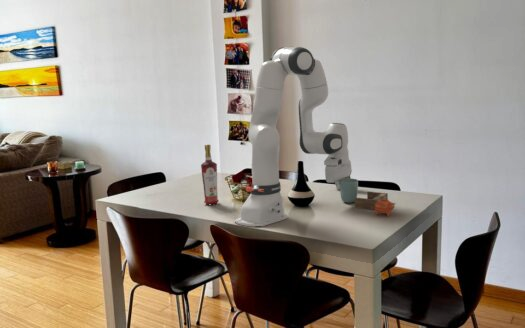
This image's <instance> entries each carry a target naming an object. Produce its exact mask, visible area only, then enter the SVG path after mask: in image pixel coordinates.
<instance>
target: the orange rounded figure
mask: <svg viewBox="0 0 525 328" xmlns="http://www.w3.org/2000/svg"><path fill="white" fill-rule="evenodd" d="M374 208H375V214H376V215H378V214H379V213H380V214H386V215H387V217H389V216H390V214H391V212H392V211H393V210H394V209H395V205H394V204H393V203H392V202H391V201H390V200H389V199H388V200H379V202H377V203H376V204H375V206H374Z"/></svg>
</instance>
